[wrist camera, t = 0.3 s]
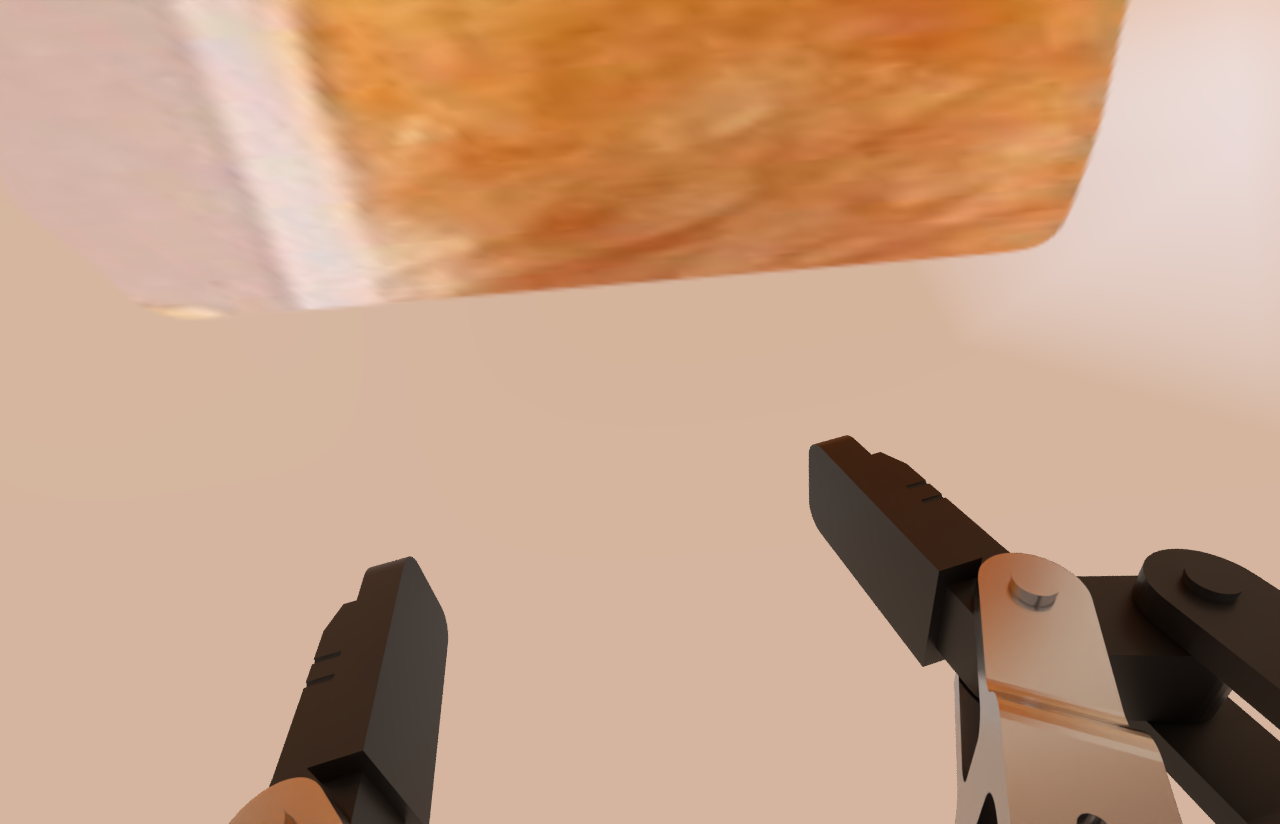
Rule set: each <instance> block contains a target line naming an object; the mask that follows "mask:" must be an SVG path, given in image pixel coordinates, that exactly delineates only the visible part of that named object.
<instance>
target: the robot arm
mask: <svg viewBox="0 0 1280 824" xmlns="http://www.w3.org/2000/svg"><path fill="white" fill-rule="evenodd" d="M809 505H810V510H811V514H812V517H813V520H814V522H815V524H816V526H817V528H818V530H819V531H820V533H821V534H822V535H823V537H824V538H825V539H826V541H827V542H828V543H829V544H830V546H831V547H832V548H833V550H834V551H835V552H836V553H837V555H838V556H839V557H840V559H841V560H842V561H843V563H844V564H845V565H846V567H847V568H848V569H849V571H850V572H851V573H852V574H853V576H854V577H855V579H856V580H857V581H858V582H859V584H860V585H861V586H862V588H863V589H864V590H865V592H866V593H867V594H868V595H869V597H870V598H871V600H872V601H873V602H874V603H875V605H876V606H877V607H878V609H879V610H880V611H881V613H882V614H883V615H884V617H885V618H886V619H887V620H888V622H889V623H890V624H891V626H892V627H893V628H894V630H895V631H896V632H897V634H898V635H899V636H900V638H901V639H902V640H903V642H904V643H905V644H906V645H907V647H908V648H909V649H910V651H911V652H912V653H913V655H914V656H915V657H916V658H917V660H918V661H919V663H920V664H921V665H922V666H923V667H924V666H927V665H930V664H933V663H936V662H938V661H942V660H944V659H945V660H946V661H947V662H948V663H949V664H950V666H951V667H952V668H953V670H955V672H956V675H955V681H954V690H955V724H956V754H957V755H956V756H957V789H958V790H957V792H958V793H957V810H956V819H955V824H1182V820H1181V817H1180V814H1179V811H1178V808H1177V805H1176V801H1175V798H1174V795H1173V792H1172V789H1171V786H1170V782H1169V779H1168V776H1167V772H1168V774H1169V775H1170V776H1171V777H1172V778H1173V779H1174V780H1175V781H1176V782H1177V783H1178V784H1179V785H1180V786H1181V787H1182V788H1183V790H1184V791H1185V792H1186V793H1187V794H1188V795H1189V796H1190V797H1191V798H1192V799H1193V800H1194V801H1195V802H1196V803H1197V804H1198V806H1199V807H1200V808H1201V809H1202V810H1203V811H1204V812H1205V813H1206V814H1207V815H1208V816H1209V817H1210V818H1211V819H1212V820H1213V821H1214V822H1215V824H1280V741H1279V740H1278V739H1276V738H1275V737H1274V736H1273V735H1272V734H1271V733H1269V732H1268V731H1267V730H1266V729H1265V728H1263V727H1262V726H1261V725H1260V724H1259V723H1258V722H1257V721H1255V720H1254V719H1253V718H1252V717H1251V716H1249V715H1248V714H1247V713H1246V712H1245V711H1244V710H1242V709H1241V708H1240V707H1239V706H1238V705H1237V704H1236V703H1234V702H1233V701H1232V700H1231V699H1230V698H1228V695H1229V694H1230V692H1231V691H1232V690H1233V691H1235V692H1236V693H1237V694H1238V695H1239V696H1240V697H1242V698H1243V699H1244V700H1245V701H1246V702H1247V703H1249V704H1250V705H1251V706H1252V707H1253V708H1255V709H1256V710H1257V711H1258V712H1259V713H1261V714H1262V715H1263V716H1264V717H1265V718H1267V719H1268V720H1269V721H1270V722H1271V723H1272V724H1274V725H1275V726H1276V727H1277V728H1278V729H1280V590H1278V589H1277V588H1275V587H1274V586H1272V585H1270V584H1269V583H1268V582H1266V581H1265V580H1263V579H1262V578H1260V577H1258V576H1257V575H1255V574H1254V573H1252V572H1250V571H1249V570H1247V569H1245V568H1243V567H1241V566H1240V565H1237V564H1235V563H1233V562H1231V561H1229V560H1226V559H1223V558H1221V557H1217V556H1215V555H1211V554H1208V553H1204V552H1200V551H1194V550H1187V549H1167V550H1161V551H1158V552H1155V553H1153V554H1151V555H1150V556H1148V557H1147V558H1146V560H1145V562H1144V564H1143V566H1142V568H1141V570H1140V572H1139V575H1138V576H1088V577H1087V576H1086V577H1081V576H1075V575H1074V574H1073V573H1071V572H1070V571H1068V570H1067V569H1065V568H1064V567H1062V566H1060V565H1058V564H1056V563H1054V562H1052V561H1049V560H1047V559H1045V558H1041V557H1038V556H1035V555H1030V554H1023V553H1010V552H1009V551H1007V550H1006V549H1005V548H1004V547H1002V546H1001V545H1000V544H999V543H998V542H997V541H996V540H994V539H993V538H992V537H991V536H989V534H987V533H986V532H985V531H984V530H983V529H981V528H980V527H979V526H978V525H977V524H976V523H975V522H973V521H972V520H971V519H970V518H969V517H968V516H967V515H965V514H964V513H963V512H962V511H961V510H959V509H958V508H957V507H956V506H955V505H954V504H952V503H951V502H950V501H949V500H948V499H947V498H943V497H942V494H941V493H940V492H939V491H937V490H936V489H935V488H934V487H933V486H932V485H930V484H927V483H926V481H925V479H924V478H922V477H921V476H920V475H919V474H918V473H917V472H915V471H914V470H913V469H912V468H911V467H910V466H909V465H907V464H906V463H904V462H901V461H899V460H897V459H895V458H892V457H890V456H888V455H886V454H884V453H881V452H879V453H876V454H872V455H871V454H870V453H869V452H868V451H867V450H866V449H865V448H864V447H862V446H861V445H860V444H859V443H858V442H857V441H856V440H855V439H854V438H852V437H851V436H848V435H847V436H842V437H839V438H835V439H831V440H828V441H825V442H821V443H817V444H814V445H812V446H811V447H810V450H809ZM447 646H448V630H447V623H446V619H445V615H444V612H443V610H442V608H441V606H440V604H439V602H438V600H437V598H436V596H435V595H434V593H433V591H432V589H431V587H430V585H429V583H428V582H427V580H426V578H425V576H424V574H423V572H422V570H421V568H420V566H419V565H418V563H417V561H416V560H415V559H414V558H413V557H406V558H402V559H399V560H395V561H392V562H388V563H385V564H381V565H378V566H374V567H371V568H369V569H368V570H367V571H366V573H365V575H364V578H363V582H362V585H361V588H360V591H359V595H358V598H357V601H353V602H350V603H346V604H343V606H342V607H341V608H340V610H339V611H338V612H337V614H336V615H335V616H334V618H333V619H332V620H331V622H330V623H329V625H328V626H327V627H326V629H325V630H324V631H323V635H322V637H321V640H320V643H319V646H318V649H317V652H316V655H315V657H314V660H315V664H312V666H311V669H310V672H309V675H308V678H307V680H306V683H307V687H306V688H304V689H303V692H302V695H301V698H300V701H299V704H298V706H297V709H296V712H295V715H294V718H293V721H292V724H291V727H290V730H289V732H288V735H287V738H286V741H285V744H284V747H283V750H282V753H281V755H280V758H279V761H278V764H277V767H276V770H275V773H274V776H273V779H272V781H271V783H270V786H269V788H267V789H266V790H264V791H263V792H261V793H260V794H258V795H257V796H256V797H255V798H253V799H252V800H251V801H250V802H249V803H248V804H246V806H244V807H243V808H242V809H241V810H240V811H239V812H238V814H237V815H236V816H235V817H234V818H233V819H232V820H231V822H230V823H229V824H429V819H430V811H431V810H430V809H431V800H432V791H433V782H434V772H435V762H436V753H437V743H438V733H439V723H440V714H441V704H442V695H443V685H444V675H445V666H446V656H447Z"/></svg>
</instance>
